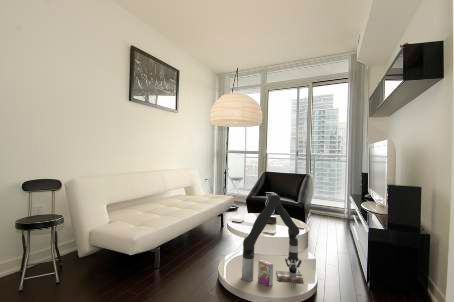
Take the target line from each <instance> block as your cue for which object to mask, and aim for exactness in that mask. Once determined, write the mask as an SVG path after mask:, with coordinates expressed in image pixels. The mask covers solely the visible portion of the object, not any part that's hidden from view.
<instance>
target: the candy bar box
mask: <svg viewBox="0 0 454 302" xmlns="http://www.w3.org/2000/svg"><path fill="white" fill-rule="evenodd" d="M257 272H258V276H257V282H259V283H260V284H263V285H265V286H266V287H271V286H273V279H274V274H273V273H274V264H273V263H272V262H269V261H267V260H264V259H260V260H258V271H257Z"/></svg>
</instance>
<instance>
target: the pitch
mask: <svg viewBox="0 0 454 302" xmlns="http://www.w3.org/2000/svg"><path fill="white" fill-rule="evenodd" d="M297 271H298V272H299V274H297V273H296V277H290V275H289V271H285V270H276V271H275V273H276V277H277V281H278V282H284V283H285V282H286V283H296V284H304V283H305V282H304V277H303V273H302V272H301V269H297Z"/></svg>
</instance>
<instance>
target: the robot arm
mask: <svg viewBox="0 0 454 302" xmlns="http://www.w3.org/2000/svg"><path fill="white" fill-rule="evenodd" d="M275 210H276V212H277V214H278V215H279V217H280V219H281V220H282V222H283V224H284V225H285V226H286V227H287V228H288V229H287V232H288V234H287V235H288V239H289V241H288V242H289V244H288V257H286V258H284V261H285V264H286V266H287V267H288V272H289V271H290V272H291V265H292V264H295V273H296V272H297V270H298V268H300V265H301V264H302V260H301V259H300V258H299V239H298V238H297V236H299V235H300V229H299V227H298V225H297V223H295V222H294V221H293V219H292V218H291V216H290V215H289V213H288V211H287V210H286V209H285V208H284V206H283V205H282V203H281V197H280V196H279V195H278V194H277V193H276V192H271V193H269V194H268V195H267V204H266V206H265V207H264V209H263V210H261V212H260V213H259V214H258V215H257V216H256V219H255V221H254V222H253V225H252V227H251V229H250V232H249V234H248V235H247V236H245V237H244V239H243V241H242V247H243V248H242V249H243V250H242V267H241V269H242V270H241V280H242V281H245V282H252V281H253V280H254V267H255V266H254V265H255V263H254V262H255V260H254V259H255V244H256V243H257V240H258V238H259V237H260V235H261V234H262V232H263V230H264V229H265V228H266V226H267V224H268V222H269V221H270V218H271V217H272V215H273V213H274V212H275ZM288 262H289V263H288Z"/></svg>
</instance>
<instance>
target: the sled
mask: <svg viewBox="0 0 454 302" xmlns="http://www.w3.org/2000/svg"><path fill="white" fill-rule="evenodd" d="M288 272H289V275H290V277H296V273H295V264H294V263H292V265H291V272H290V271H289V270H288Z"/></svg>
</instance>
